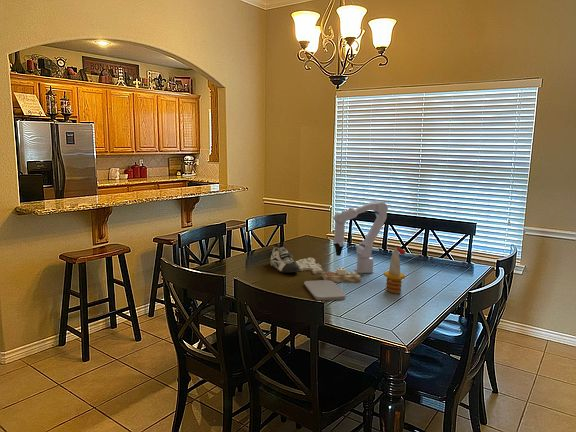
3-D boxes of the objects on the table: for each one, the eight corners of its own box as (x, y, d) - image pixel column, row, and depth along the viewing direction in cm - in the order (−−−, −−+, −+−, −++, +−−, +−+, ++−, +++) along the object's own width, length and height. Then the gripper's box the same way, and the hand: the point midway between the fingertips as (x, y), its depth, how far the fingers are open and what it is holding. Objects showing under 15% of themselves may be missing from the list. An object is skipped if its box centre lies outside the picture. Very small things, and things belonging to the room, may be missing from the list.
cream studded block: (343, 272, 252) (344, 267, 251) (345, 275, 248) (346, 269, 247) (336, 272, 251) (336, 267, 251) (338, 275, 247) (338, 269, 247)
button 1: (353, 277, 253) (354, 271, 253) (355, 279, 249) (356, 273, 248) (346, 277, 253) (346, 271, 252) (348, 279, 248) (348, 273, 248)
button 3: (333, 277, 252) (333, 271, 251) (335, 279, 247) (335, 273, 247) (326, 277, 251) (326, 271, 251) (327, 279, 247) (327, 273, 246)
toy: (411, 264, 215) (391, 245, 224) (390, 299, 227) (372, 279, 237) (422, 262, 220) (403, 243, 229) (401, 296, 233) (383, 277, 242)
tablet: (331, 283, 242) (331, 279, 242) (347, 300, 217) (347, 296, 217) (302, 285, 239) (302, 281, 238) (316, 302, 214) (316, 297, 213)
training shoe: (287, 277, 251) (288, 255, 249) (264, 264, 276) (264, 244, 274) (303, 274, 257) (304, 253, 255) (279, 262, 281) (279, 242, 279)
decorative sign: (291, 258, 286) (313, 257, 289) (290, 261, 287) (313, 260, 290) (302, 271, 257) (326, 270, 260) (302, 275, 257) (326, 274, 260)
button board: (355, 276, 256) (355, 271, 256) (360, 281, 246) (360, 276, 246) (321, 276, 254) (322, 271, 253) (325, 281, 244) (325, 276, 244)
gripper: (330, 230, 266) (329, 252, 268) (335, 235, 251) (334, 258, 254) (341, 230, 266) (340, 252, 269) (347, 235, 252) (346, 258, 254)
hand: (338, 255), depth 261 cm, fingers closed
